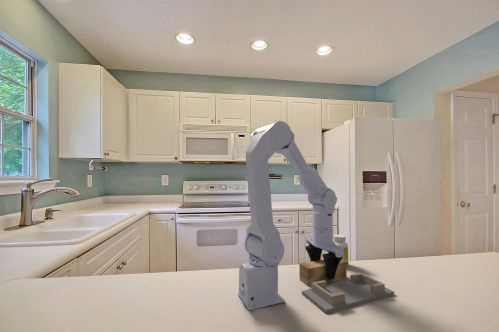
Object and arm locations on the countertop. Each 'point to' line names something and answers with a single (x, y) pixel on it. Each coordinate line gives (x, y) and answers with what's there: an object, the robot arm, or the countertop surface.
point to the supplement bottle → (342, 245)
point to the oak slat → (320, 272)
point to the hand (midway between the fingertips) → (323, 274)
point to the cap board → (346, 293)
